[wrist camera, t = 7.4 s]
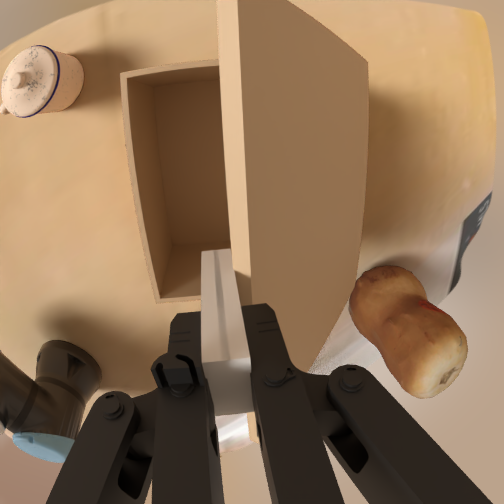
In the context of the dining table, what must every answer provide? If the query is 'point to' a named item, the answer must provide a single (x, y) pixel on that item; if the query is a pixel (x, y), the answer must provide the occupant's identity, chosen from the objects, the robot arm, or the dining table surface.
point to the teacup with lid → (40, 82)
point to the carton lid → (292, 166)
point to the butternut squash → (408, 330)
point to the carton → (176, 171)
